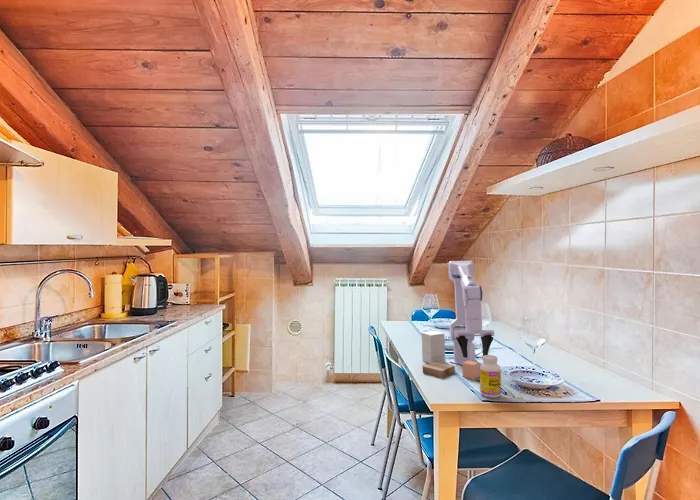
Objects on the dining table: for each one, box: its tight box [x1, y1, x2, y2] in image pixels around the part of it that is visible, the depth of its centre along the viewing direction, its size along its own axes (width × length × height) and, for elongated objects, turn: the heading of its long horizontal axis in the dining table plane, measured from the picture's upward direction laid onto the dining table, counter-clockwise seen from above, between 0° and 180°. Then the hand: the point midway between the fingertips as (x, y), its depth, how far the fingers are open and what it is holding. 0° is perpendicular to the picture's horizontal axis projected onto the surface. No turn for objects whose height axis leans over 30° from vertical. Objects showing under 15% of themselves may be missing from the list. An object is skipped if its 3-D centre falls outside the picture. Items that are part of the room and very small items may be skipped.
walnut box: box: [422, 361, 456, 379], centre depth 155 cm, size 9×9×3 cm
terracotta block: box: [462, 360, 480, 380], centre depth 149 cm, size 4×4×6 cm
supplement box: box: [421, 330, 446, 364], centre depth 170 cm, size 7×7×13 cm
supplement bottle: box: [479, 354, 502, 399], centre depth 131 cm, size 7×7×13 cm
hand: (475, 356), depth 140 cm, fingers open, 7 cm apart
